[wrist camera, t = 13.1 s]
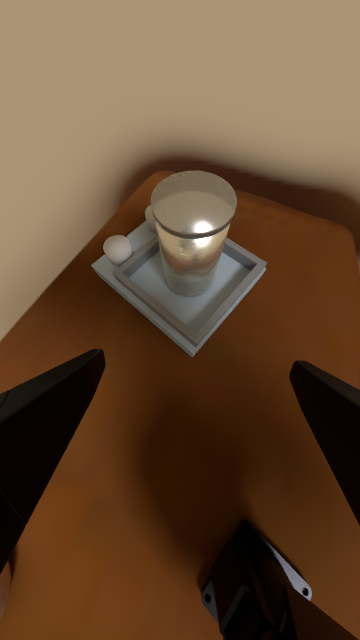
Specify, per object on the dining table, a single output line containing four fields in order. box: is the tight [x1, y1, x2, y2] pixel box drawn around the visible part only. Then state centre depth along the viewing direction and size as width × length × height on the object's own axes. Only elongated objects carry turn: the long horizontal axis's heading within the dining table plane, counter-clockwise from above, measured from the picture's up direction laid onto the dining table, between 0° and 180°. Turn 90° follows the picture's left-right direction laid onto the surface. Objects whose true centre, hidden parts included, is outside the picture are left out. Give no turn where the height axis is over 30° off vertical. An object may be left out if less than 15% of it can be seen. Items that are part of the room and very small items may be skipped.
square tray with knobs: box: [91, 205, 267, 357], centre depth 23 cm, size 17×14×4 cm
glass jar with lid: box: [151, 171, 237, 297], centre depth 18 cm, size 8×6×10 cm
